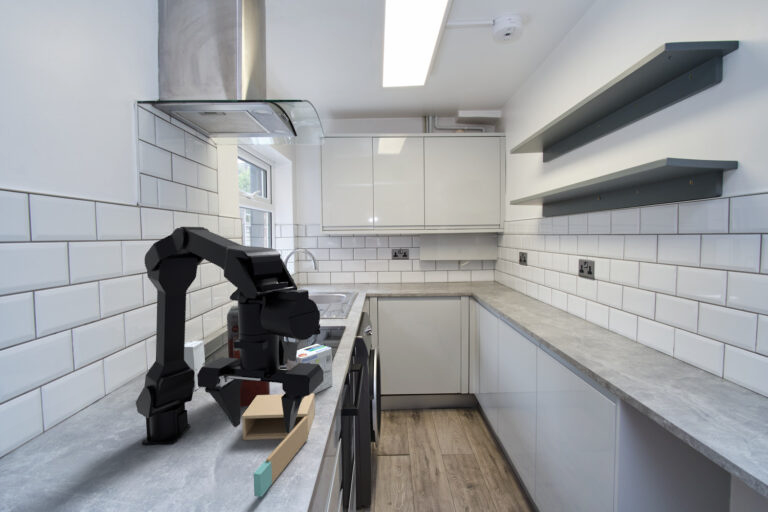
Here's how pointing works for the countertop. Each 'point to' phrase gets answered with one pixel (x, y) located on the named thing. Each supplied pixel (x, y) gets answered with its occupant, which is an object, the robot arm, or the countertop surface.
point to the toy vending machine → (247, 387)
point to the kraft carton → (273, 417)
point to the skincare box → (195, 357)
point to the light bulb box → (316, 362)
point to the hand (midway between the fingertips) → (262, 428)
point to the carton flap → (280, 458)
